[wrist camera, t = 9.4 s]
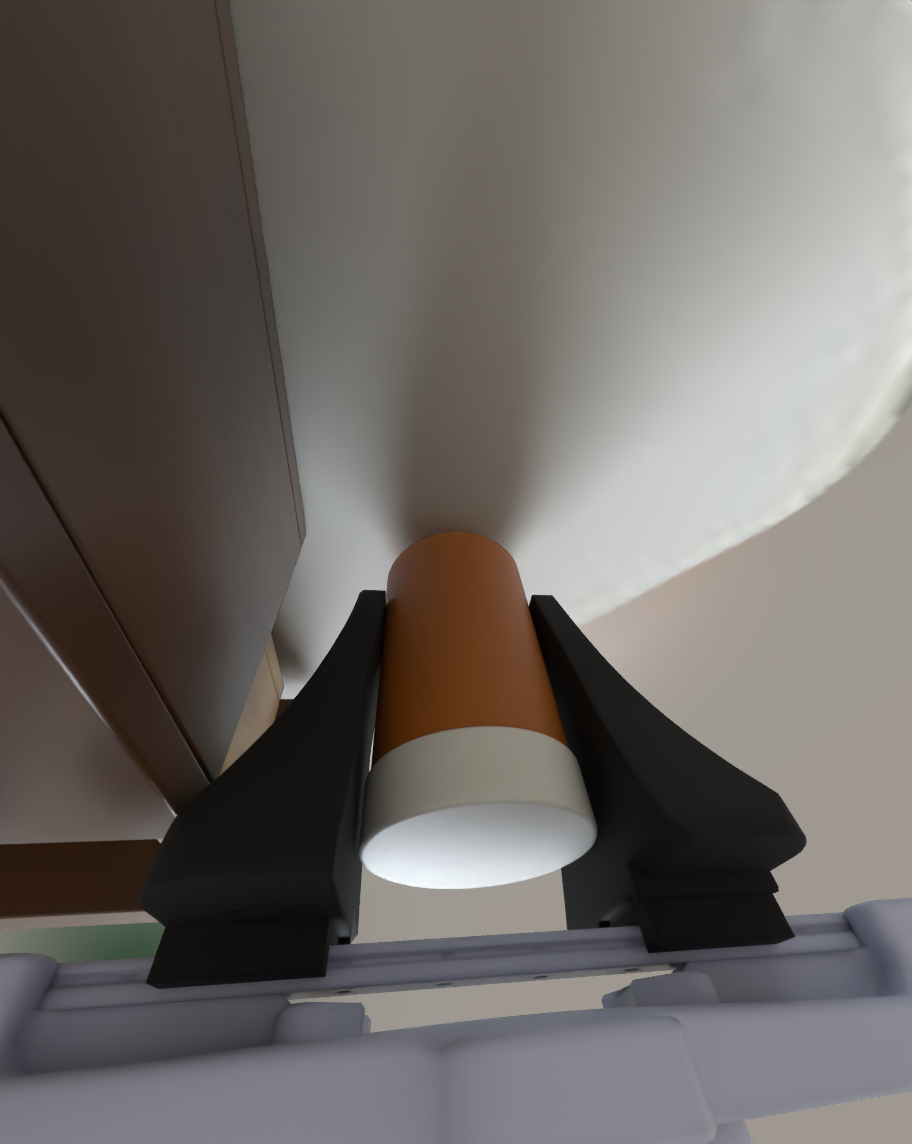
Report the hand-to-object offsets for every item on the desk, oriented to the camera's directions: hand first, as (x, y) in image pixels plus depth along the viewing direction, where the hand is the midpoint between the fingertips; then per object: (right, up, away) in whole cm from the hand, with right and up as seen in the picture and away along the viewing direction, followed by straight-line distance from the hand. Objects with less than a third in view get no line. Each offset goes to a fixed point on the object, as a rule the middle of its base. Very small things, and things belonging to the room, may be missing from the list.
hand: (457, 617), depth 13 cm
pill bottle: (0, +1, +1) cm, 1 cm away
